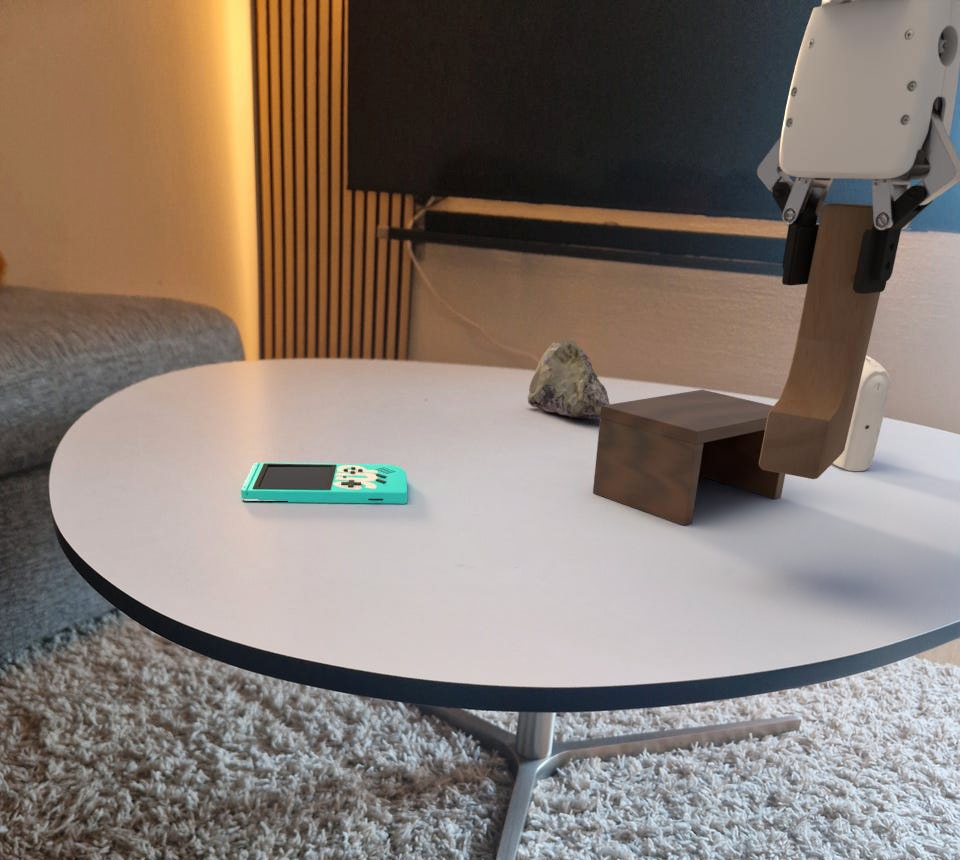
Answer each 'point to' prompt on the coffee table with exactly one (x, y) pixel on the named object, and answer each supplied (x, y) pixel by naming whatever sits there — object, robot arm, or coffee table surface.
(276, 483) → the handheld game console
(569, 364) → the mineral rock
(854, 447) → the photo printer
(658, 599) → the coffee table surface
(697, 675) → the coffee table surface
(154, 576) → the coffee table surface
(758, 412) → the shelf
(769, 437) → the wooden block
